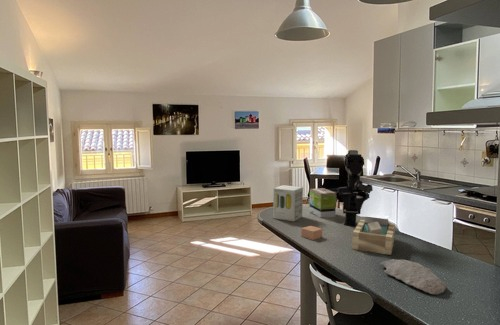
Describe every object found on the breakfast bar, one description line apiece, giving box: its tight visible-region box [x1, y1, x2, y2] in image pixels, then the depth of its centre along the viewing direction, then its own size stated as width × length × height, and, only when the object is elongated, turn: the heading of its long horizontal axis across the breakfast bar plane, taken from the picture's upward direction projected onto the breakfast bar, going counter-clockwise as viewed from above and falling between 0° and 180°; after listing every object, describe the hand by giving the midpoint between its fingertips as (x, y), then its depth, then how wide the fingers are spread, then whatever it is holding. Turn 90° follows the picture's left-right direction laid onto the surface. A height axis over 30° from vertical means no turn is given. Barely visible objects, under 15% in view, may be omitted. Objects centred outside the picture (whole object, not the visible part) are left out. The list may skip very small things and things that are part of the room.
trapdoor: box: [363, 216, 389, 235], centre depth 160 cm, size 18×10×3 cm, turn 153°
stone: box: [379, 258, 447, 295], centre depth 124 cm, size 16×6×25 cm
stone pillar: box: [368, 222, 382, 235], centre depth 156 cm, size 4×4×7 cm
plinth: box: [300, 225, 323, 241], centre depth 169 cm, size 7×7×4 cm
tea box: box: [308, 187, 337, 219], centre depth 211 cm, size 15×10×15 cm
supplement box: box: [272, 184, 304, 222], centre depth 203 cm, size 13×13×18 cm
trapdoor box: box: [351, 219, 396, 256], centre depth 160 cm, size 23×16×7 cm
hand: (353, 210), depth 170 cm, fingers open, 9 cm apart
